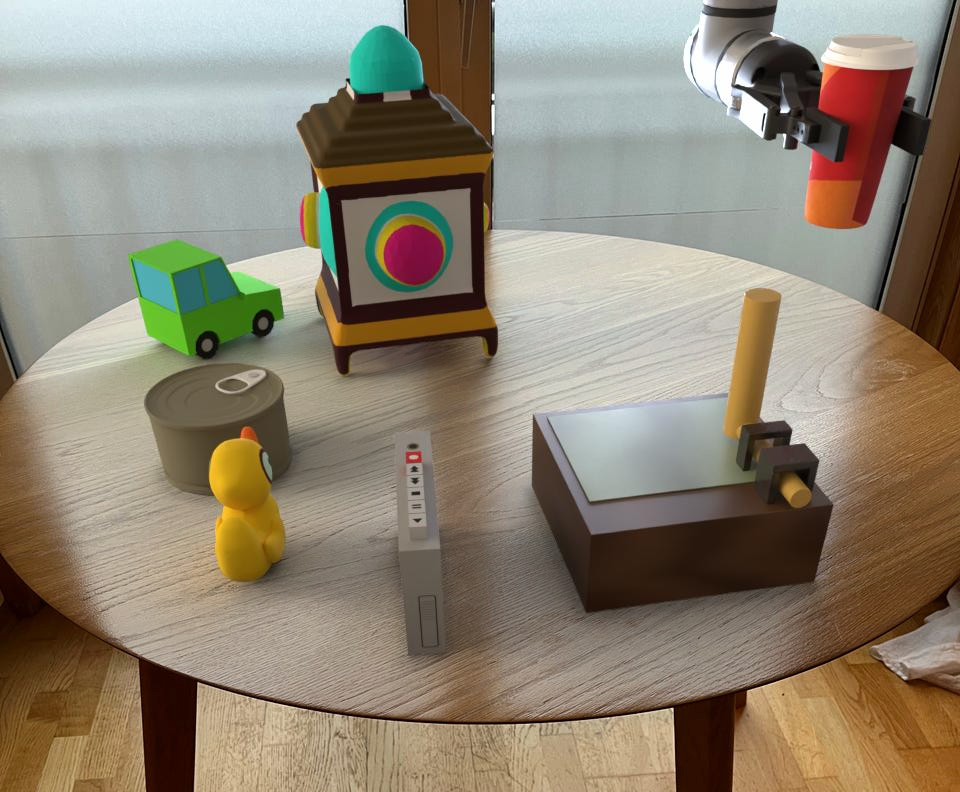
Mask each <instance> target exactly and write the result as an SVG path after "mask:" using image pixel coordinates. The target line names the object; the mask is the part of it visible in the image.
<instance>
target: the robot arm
mask: <svg viewBox="0 0 960 792" xmlns="http://www.w3.org/2000/svg"><path fill="white" fill-rule="evenodd" d="M778 2H779V0H703V3H702V9H701V12H700V21H699V23H698V24H697V25H696V26H695V27H694V29H693V30H692V31H691V34H690V35H689V37H688V40H687V42H686V43H685V47H684V51H683V64H684V65H683V66H684V69H685V73H686V75H687V78H688V79H689V81H691V83H692V84H693V85H694V86H695V87H696V88H697V89H698V91H699V92H700V93H701V94H702V95H704V96H705V97H706V98H708V99H712V100H713V101H717V103H718V102H719V103H720V104H722V105H723V106H725V107H727V110H726V111H727V113H726V115H727V116H728V117H731V118H734V119H737V120H739V121H740V122H742V123H743V125H745V126H747V128H749V129H750V130H751V131H752V132H754V133H755V134H756V135H758V137H760V138H761V139H763V140H765V141H768V142H771V141H774V140H777V138H778V137H777V136H778V135H783V139H784V140H783V146H782V149H784V150H787V151H795V150H797V149H798V145H799V142H800V143H801V144H803V145H804V146H806V147H807V148H809V149H810V150H814V151H816V152H818V153H819V154H821V155H823V156H824V157H826V158H828V159H829V160H831V161H833V162H843V159H844V154H845V149H846V144H847V139H848V134H849V129H850V125H848V124H846V123H844V122H842V121H840V120H838V119H836V118H834V117H832V116H831V115H829V114H827V113H825V112H823V111H821V110H819V109H818V106H819V99H820V92H821V84H822V77H823V71H821V68H820V65H819V63H818V61H817V58H816V57H815V55H814V54H813V53H812V52H811V50H809V49H808V48H806V47H804V46H802V45H800V44H798V43H796V42H793V41H791V40H789V39H787V38H785V37H783V36H780V35H778V34H775V33H773V31H774V25H775V17H776V13H777V9H778ZM916 101H917V98H916V97H914V96H912V95H908V94H906V95H905V98H904V102H903V105H902V108H901V112H900V115H899V119H898V122H897V126H896V129H895V133H894V136H893V139H892V143H891V146H892V145H893V146H894V147H896V148H899V149H900V150H902V151H904V152H906V153H908V154H910V155H912V156H914V157H917V156H919V157H921V156H923V155H924V152H925V148H926V145H927V141H928V136H929V132H930V129H931V124H932V121H933V120H932V118H930V117H927V116H925V115H923V114H920V113H919V112H916V111H914V110H915V104H916Z"/></svg>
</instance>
